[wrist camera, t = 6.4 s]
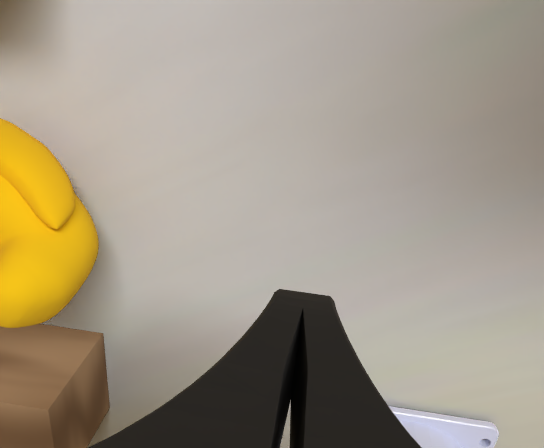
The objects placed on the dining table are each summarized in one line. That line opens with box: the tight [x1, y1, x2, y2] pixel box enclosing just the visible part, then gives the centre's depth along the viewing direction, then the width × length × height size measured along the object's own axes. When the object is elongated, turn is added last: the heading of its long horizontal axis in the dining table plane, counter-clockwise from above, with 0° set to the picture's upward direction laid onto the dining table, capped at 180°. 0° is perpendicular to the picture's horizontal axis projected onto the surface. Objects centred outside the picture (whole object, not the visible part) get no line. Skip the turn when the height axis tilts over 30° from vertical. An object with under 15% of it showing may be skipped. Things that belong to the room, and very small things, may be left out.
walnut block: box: [0, 324, 110, 448], centre depth 22 cm, size 5×5×5 cm
